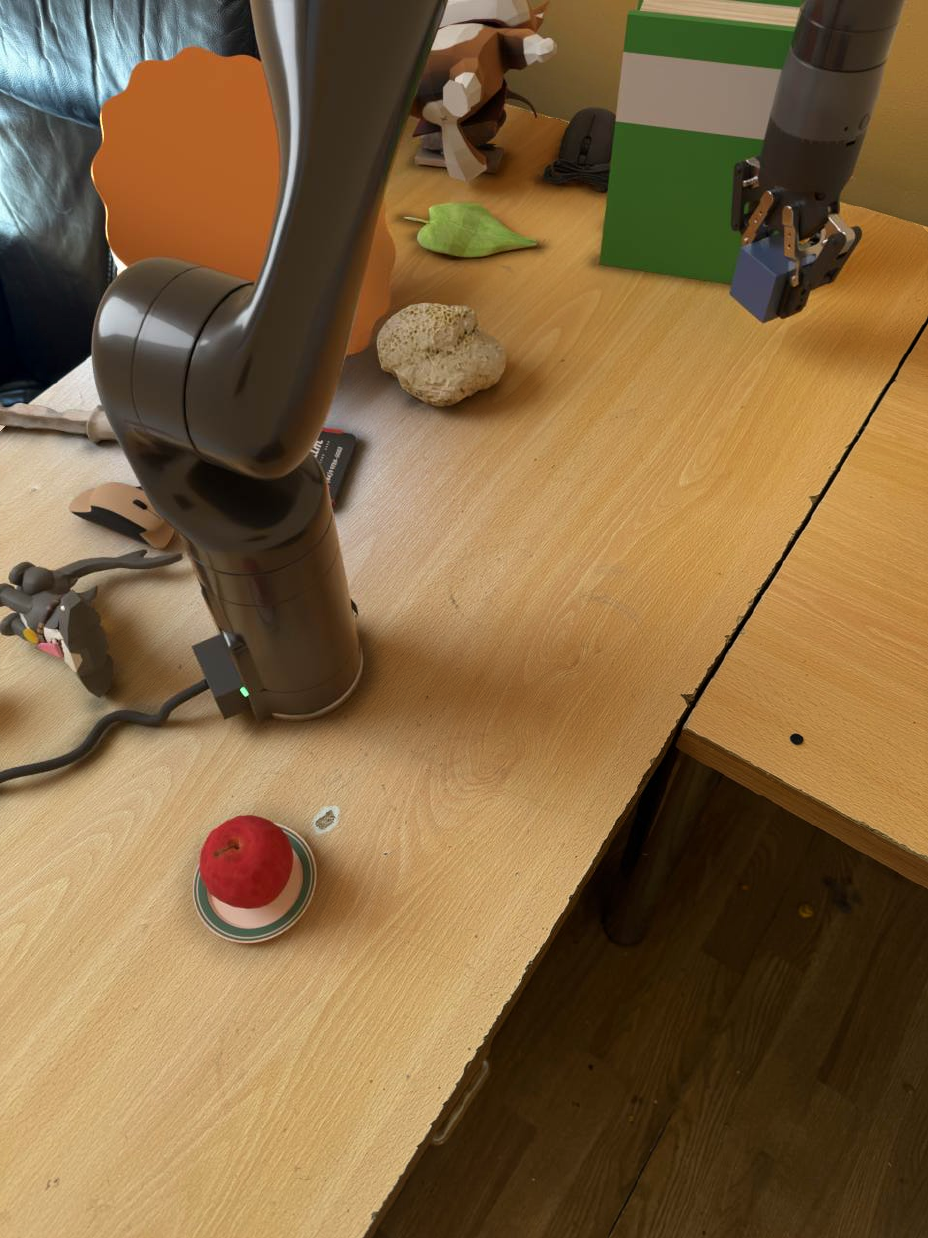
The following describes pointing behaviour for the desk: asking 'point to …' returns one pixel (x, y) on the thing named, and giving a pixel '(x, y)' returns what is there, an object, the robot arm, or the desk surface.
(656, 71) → the hardback book
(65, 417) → the carved wooden stick
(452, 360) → the decorative item
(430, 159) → the figurine
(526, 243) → the leaf
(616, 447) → the desk surface
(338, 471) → the black flat block
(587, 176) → the computer mouse
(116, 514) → the computer mouse
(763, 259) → the cube
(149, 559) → the toy monster
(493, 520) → the desk surface
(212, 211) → the orange scalloped disc
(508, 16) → the toy
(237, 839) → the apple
